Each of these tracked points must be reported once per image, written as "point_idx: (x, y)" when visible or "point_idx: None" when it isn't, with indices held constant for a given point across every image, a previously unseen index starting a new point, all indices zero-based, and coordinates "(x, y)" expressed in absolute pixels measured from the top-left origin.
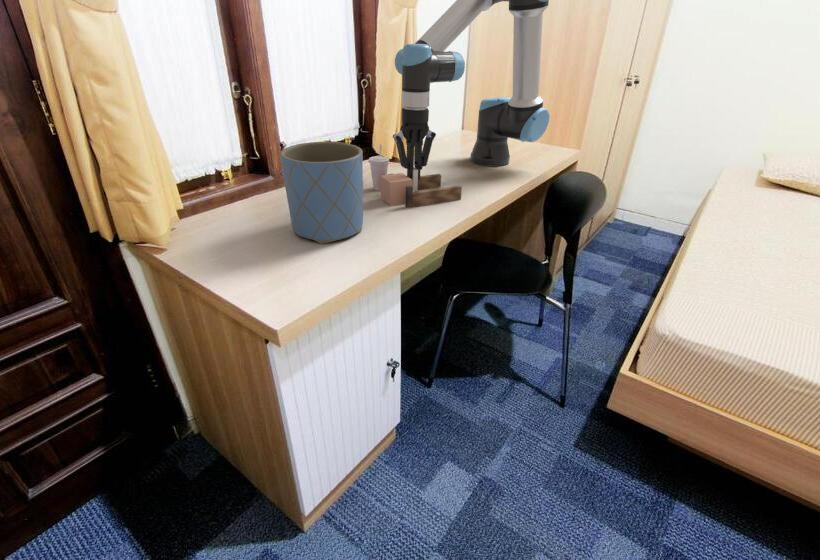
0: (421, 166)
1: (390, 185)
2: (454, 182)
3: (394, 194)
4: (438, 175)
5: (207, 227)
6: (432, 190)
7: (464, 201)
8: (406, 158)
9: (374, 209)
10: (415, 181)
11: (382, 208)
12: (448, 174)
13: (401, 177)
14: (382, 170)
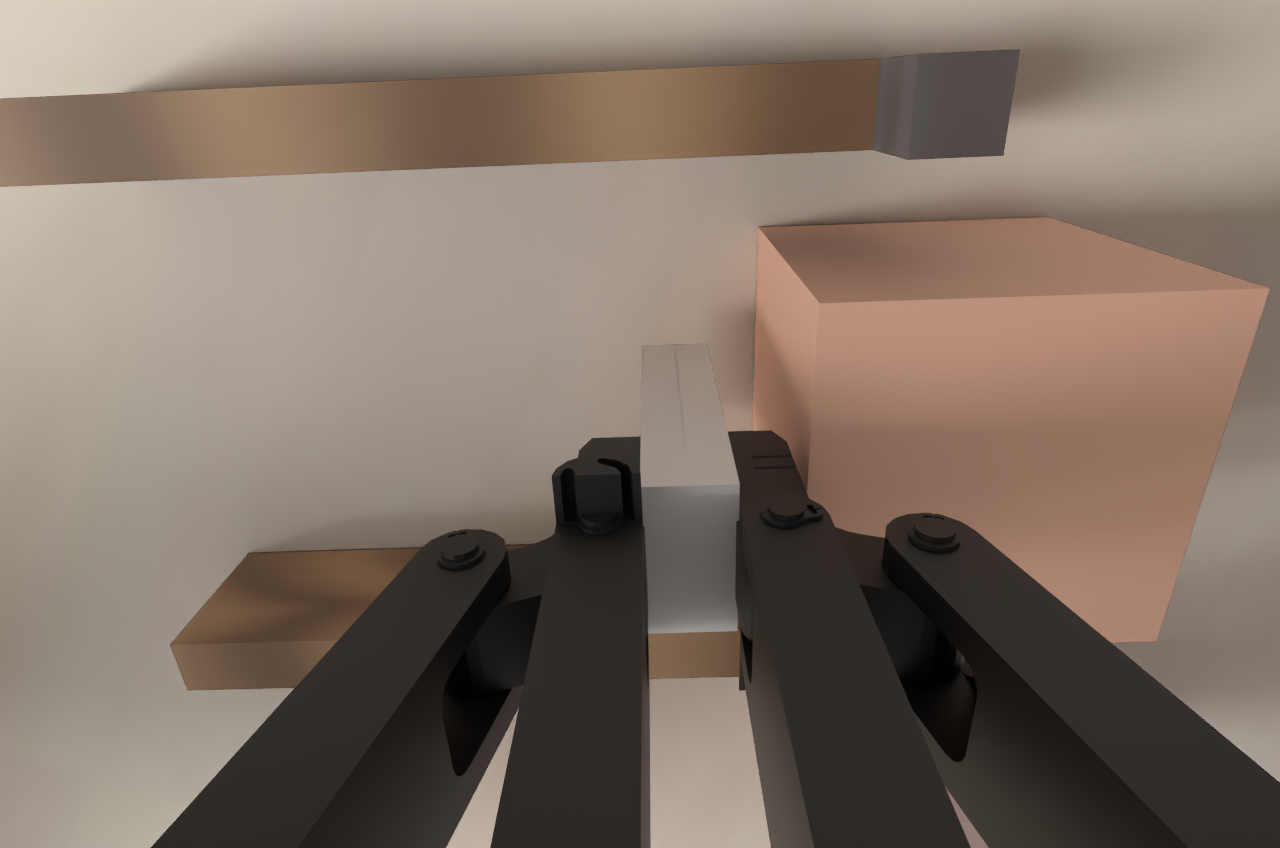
0: (540, 551)
1: (1224, 275)
2: (59, 619)
3: (1058, 247)
4: (212, 642)
5: None
6: (500, 109)
7: (70, 7)
8: (1017, 664)
9: (1274, 178)
10: (680, 396)
11: (1173, 174)
12: (74, 807)
13: (923, 471)
14: (963, 820)
